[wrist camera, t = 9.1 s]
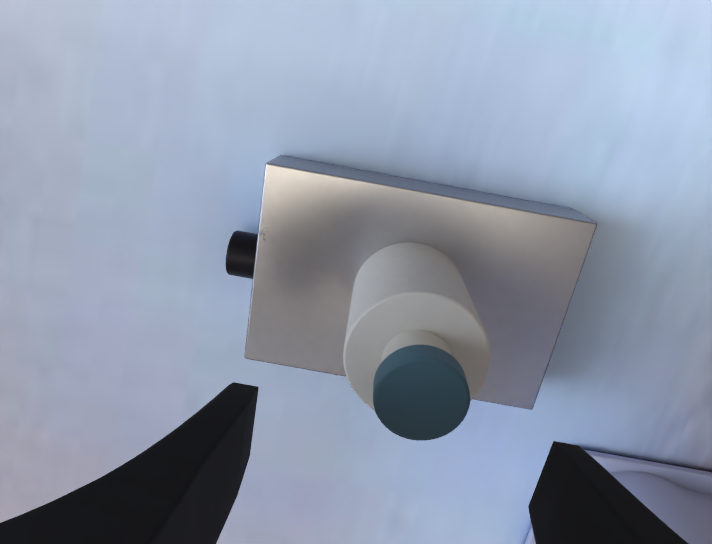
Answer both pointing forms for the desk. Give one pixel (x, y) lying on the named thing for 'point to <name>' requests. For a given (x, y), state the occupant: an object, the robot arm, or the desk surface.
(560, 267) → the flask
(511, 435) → the desk surface
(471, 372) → the bottle
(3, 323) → the desk surface
